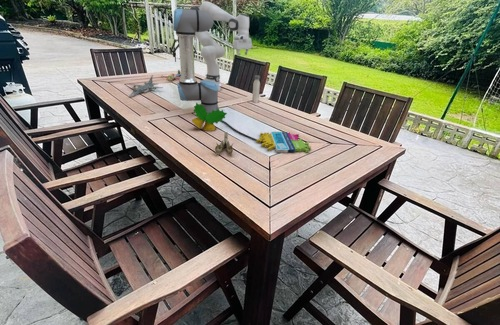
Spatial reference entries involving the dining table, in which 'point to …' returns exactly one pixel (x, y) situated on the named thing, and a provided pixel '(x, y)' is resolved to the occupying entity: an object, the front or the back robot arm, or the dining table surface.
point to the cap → (257, 77)
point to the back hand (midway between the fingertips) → (242, 54)
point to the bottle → (256, 91)
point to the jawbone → (224, 145)
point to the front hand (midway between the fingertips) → (184, 61)
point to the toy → (173, 76)
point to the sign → (283, 142)
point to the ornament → (207, 117)
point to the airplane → (143, 87)
